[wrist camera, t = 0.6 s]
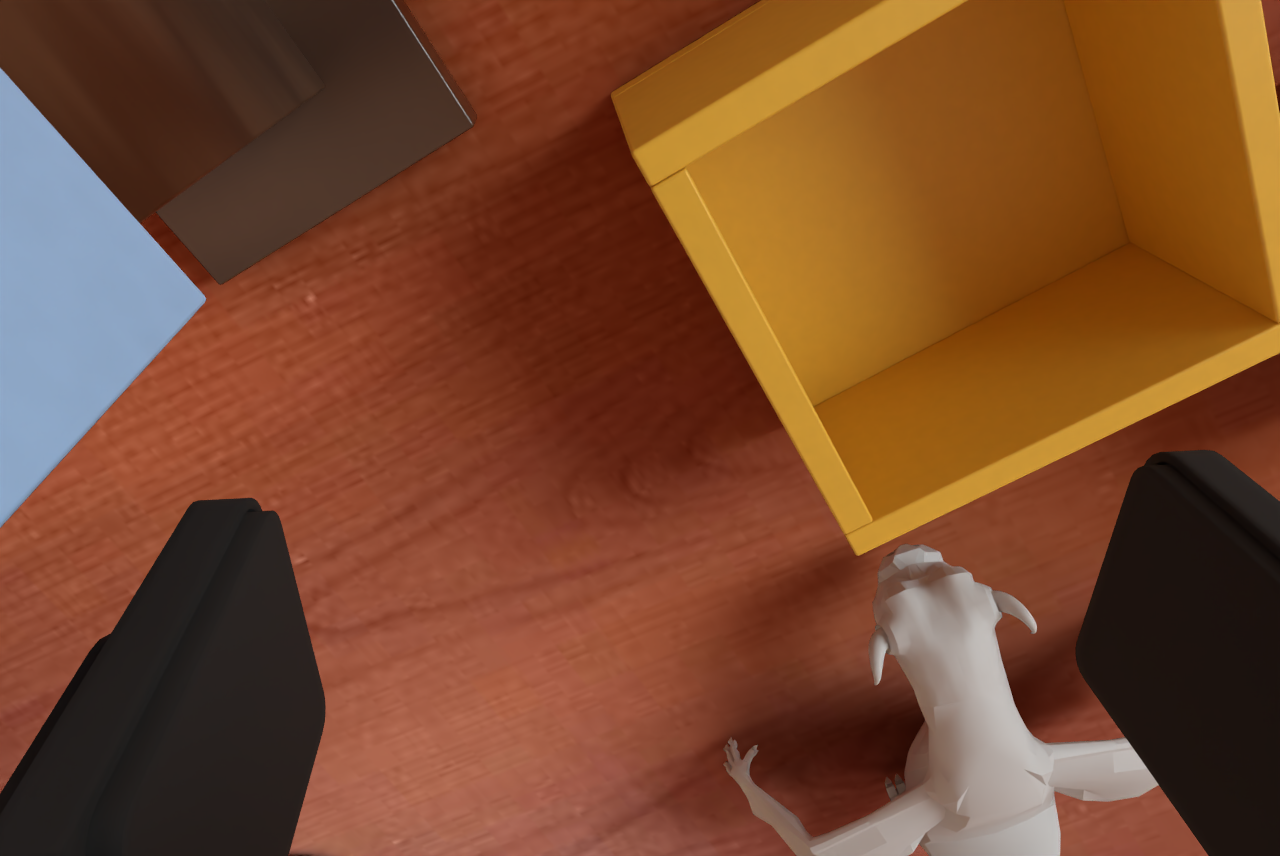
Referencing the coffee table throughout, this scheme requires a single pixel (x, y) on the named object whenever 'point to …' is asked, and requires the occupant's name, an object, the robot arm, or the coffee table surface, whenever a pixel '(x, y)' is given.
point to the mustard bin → (971, 225)
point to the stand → (235, 107)
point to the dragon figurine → (958, 734)
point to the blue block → (69, 298)
